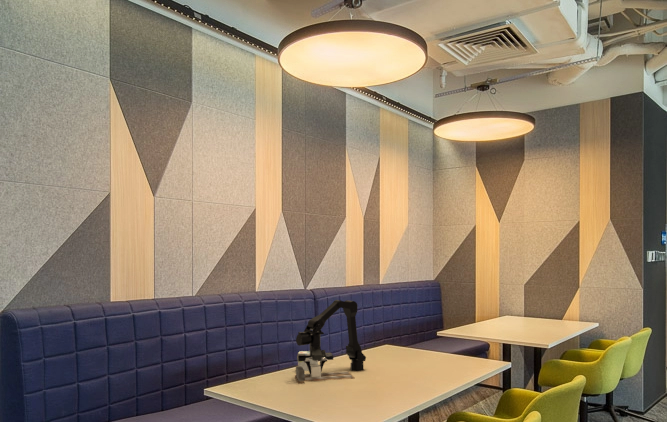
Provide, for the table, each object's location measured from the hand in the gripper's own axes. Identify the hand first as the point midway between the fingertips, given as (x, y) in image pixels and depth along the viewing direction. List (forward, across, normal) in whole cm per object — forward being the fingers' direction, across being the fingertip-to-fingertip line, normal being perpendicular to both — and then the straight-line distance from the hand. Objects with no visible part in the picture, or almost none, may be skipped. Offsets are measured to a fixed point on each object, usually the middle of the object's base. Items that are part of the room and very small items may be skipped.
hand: (315, 373), depth 274 cm
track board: (+3, +5, 0) cm, 6 cm away
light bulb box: (+3, -1, +19) cm, 19 cm away
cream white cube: (+2, 0, 0) cm, 2 cm away
